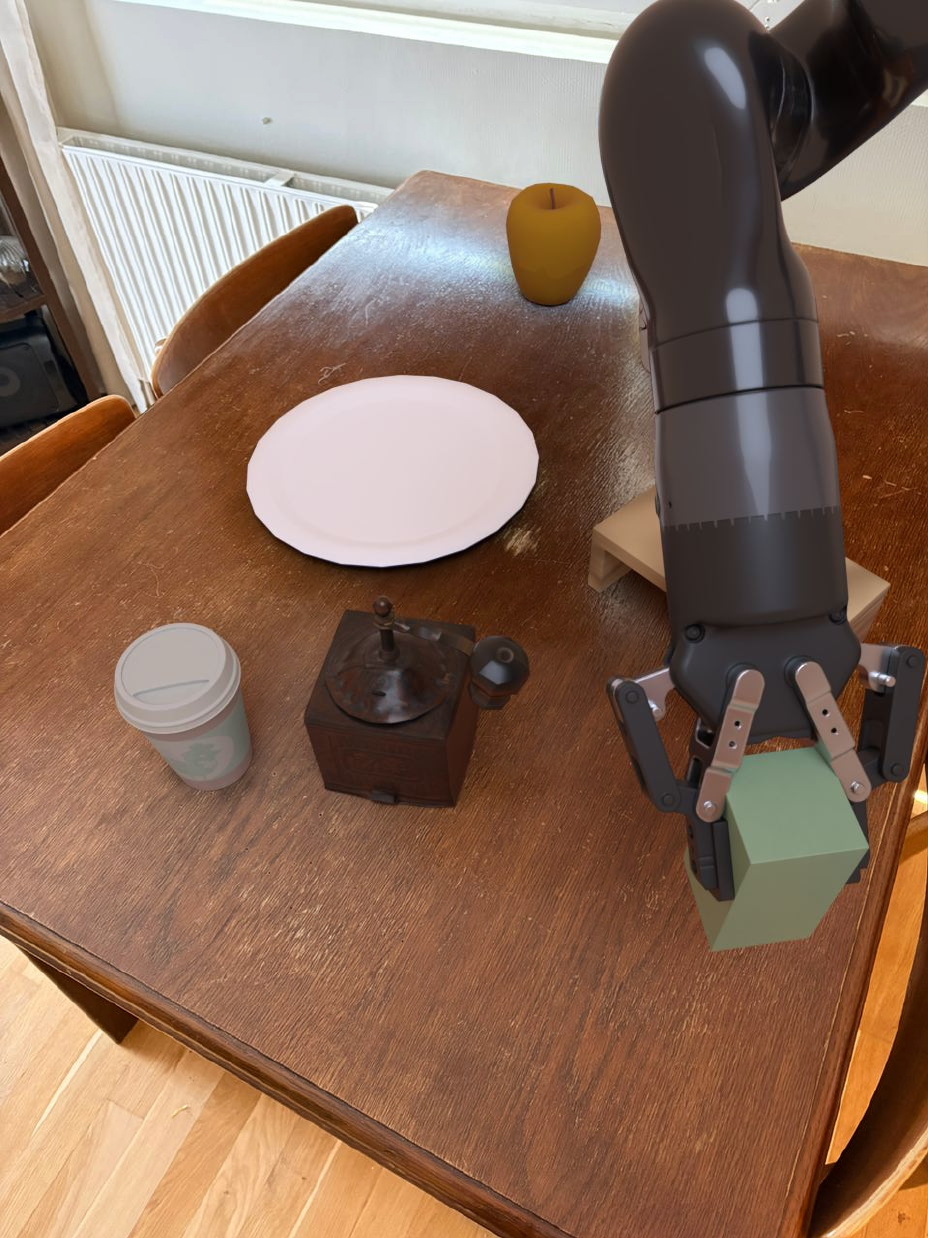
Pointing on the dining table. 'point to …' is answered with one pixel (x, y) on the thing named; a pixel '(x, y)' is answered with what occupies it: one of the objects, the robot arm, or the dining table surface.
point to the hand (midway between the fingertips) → (781, 884)
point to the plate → (392, 471)
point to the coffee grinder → (406, 704)
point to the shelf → (638, 546)
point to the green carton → (781, 850)
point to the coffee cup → (187, 702)
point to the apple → (552, 240)
